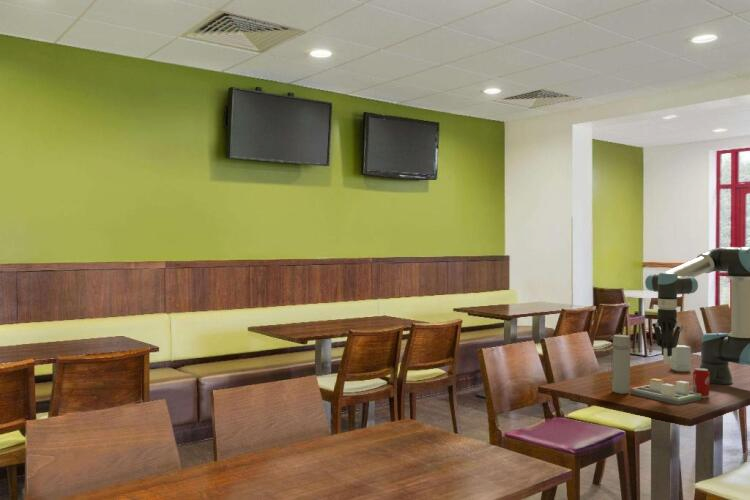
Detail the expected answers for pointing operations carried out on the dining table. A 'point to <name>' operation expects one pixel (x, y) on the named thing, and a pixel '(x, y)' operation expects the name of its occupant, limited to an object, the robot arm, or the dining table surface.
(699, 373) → the beverage can
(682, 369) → the supplement box
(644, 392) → the panel
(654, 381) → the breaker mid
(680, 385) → the block
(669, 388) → the block
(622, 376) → the water bottle
